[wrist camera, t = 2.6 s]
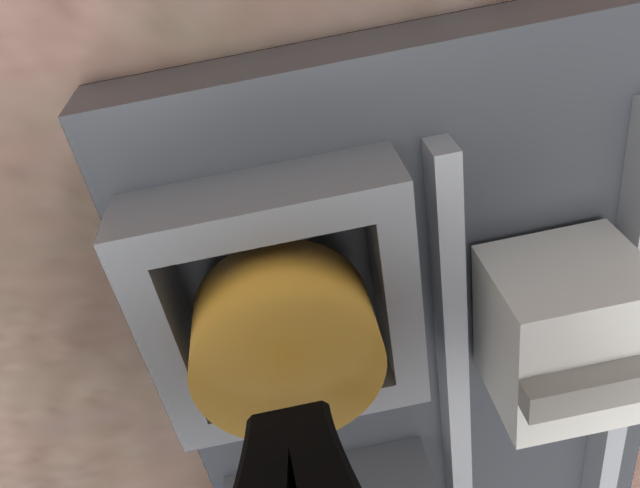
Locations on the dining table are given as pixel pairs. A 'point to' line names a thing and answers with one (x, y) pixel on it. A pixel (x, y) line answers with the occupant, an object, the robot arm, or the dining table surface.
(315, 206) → the control panel
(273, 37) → the dining table surface
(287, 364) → the amber button
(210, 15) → the dining table surface
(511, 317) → the slider knob
